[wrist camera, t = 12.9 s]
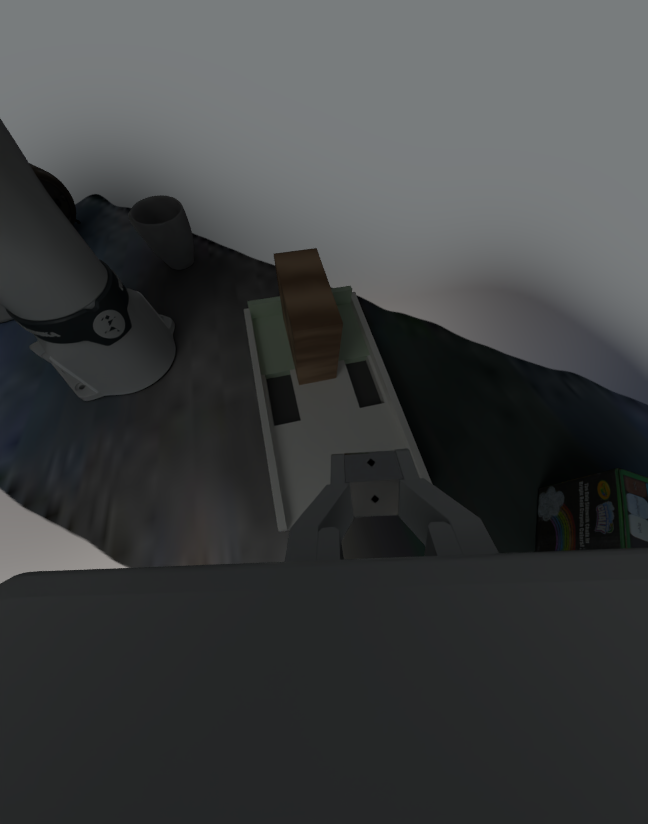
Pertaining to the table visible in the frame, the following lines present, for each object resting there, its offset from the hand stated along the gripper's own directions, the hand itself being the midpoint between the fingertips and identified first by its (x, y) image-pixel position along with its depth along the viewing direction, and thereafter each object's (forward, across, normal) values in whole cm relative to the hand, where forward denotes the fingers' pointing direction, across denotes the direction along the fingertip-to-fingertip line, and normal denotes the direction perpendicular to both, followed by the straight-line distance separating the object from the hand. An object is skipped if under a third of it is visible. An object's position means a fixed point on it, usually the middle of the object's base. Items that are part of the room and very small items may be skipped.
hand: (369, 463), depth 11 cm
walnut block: (+36, -6, -6) cm, 37 cm away
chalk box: (+15, +27, -28) cm, 42 cm away
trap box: (+30, -4, -12) cm, 33 cm away
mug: (+55, -34, +9) cm, 65 cm away
